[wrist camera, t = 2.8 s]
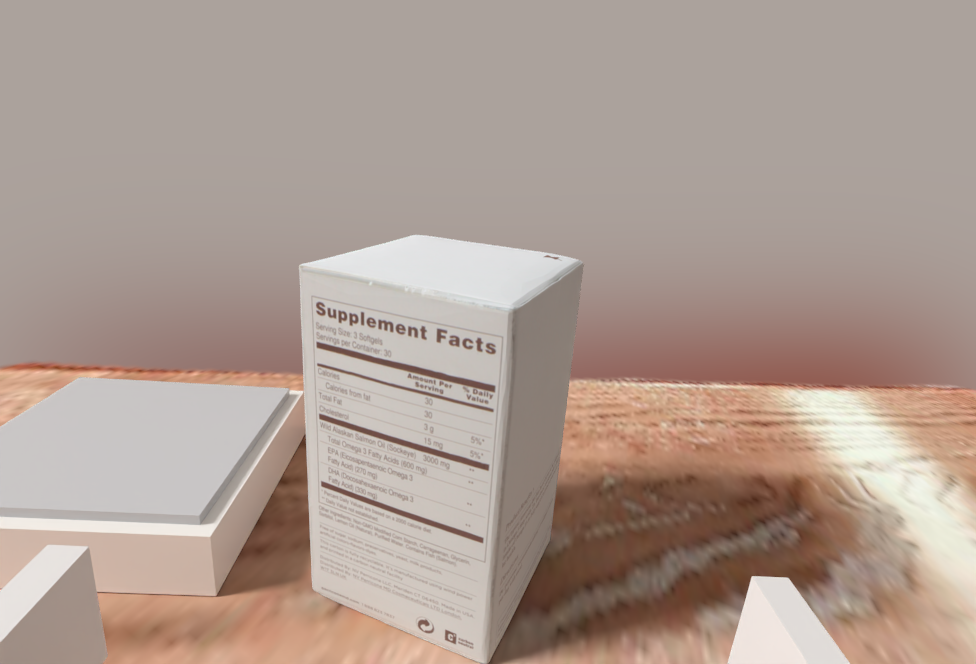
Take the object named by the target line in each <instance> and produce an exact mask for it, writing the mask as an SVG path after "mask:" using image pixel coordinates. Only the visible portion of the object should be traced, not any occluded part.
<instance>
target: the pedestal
mask: <svg viewBox="0 0 976 664" xmlns="http://www.w3.org/2000/svg"><path fill="white" fill-rule="evenodd" d="M304 435H305V405H304V391H291V390H289V388H271V387H252V386H233V385H215V384H196V383H177V382H159V381H140V380H121V379H103V378H84V377H80V378H78V379H76V380H74V381H73V382H71V383H70V384H68V385H66V386H65V387H63V388H62V389H60V390H58V391H57V392H55V393H54V394H52V395H50V396H49V397H47V398H46V399H44V400H42V401H41V402H39V403H38V404H36V405H34V406H33V407H31V408H30V409H28V410H26V411H25V412H23V413H22V414H20V415H18V416H17V417H15V418H14V419H12V420H10V421H9V422H7V423H6V424H4V425H2V426H1V427H0V589H3V588H4V587H5V586H6V585H7V584H8V583H9V582H10V581H11V580H12V579H13V578H14V577H15V576H16V575H17V574H18V573H19V572H20V571H21V570H22V569H23V568H24V567H25V566H26V565H27V564H28V563H29V562H30V561H31V560H32V559H34V558H35V557H36V556H37V555H38V554H39V553H40V552H41V551H42V550H43V549H44V548H45V547H46V546H47V545H65V546H87V547H89V550H90V555H91V561H92V567H93V573H94V579H95V585H96V590H97V592H114V593H142V594H170V595H199V596H217V594H218V592H219V590H220V588H221V586H222V585H223V583H224V581H225V579H226V577H227V575H228V574H229V572H230V570H231V568H232V566H233V565H234V563H235V561H236V559H237V557H238V555H239V554H240V552H241V550H242V548H243V546H244V544H245V543H246V541H247V539H248V537H249V535H250V534H251V532H252V530H253V528H254V526H255V524H256V523H257V521H258V519H259V517H260V515H261V514H262V512H263V510H264V508H265V506H266V504H267V503H268V501H269V499H270V497H271V495H272V493H273V492H274V490H275V488H276V486H277V484H278V483H279V481H280V479H281V477H282V475H283V473H284V472H285V470H286V468H287V466H288V464H289V462H290V461H291V459H292V457H293V455H294V453H295V452H296V450H297V448H298V446H299V444H300V442H301V441H302V439H303V437H304Z"/></svg>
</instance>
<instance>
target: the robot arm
mask: <svg viewBox="0 0 976 664" xmlns="http://www.w3.org/2000/svg"><path fill="white" fill-rule="evenodd" d="M107 657H108V654H107V648H106V643H105V637H104V631H103V625H102V619H101V614H100V608H99V602H98V596H97V590H96V585H95V579H94V573H93V567H92V561H91V555H90V550H89V547H87V546H65V545H47V546H46V547H45V548H44V549H43V550H42V551H41V552H40V553H39V554H38V555H37V556H36V557H35V558H34V559H32V560H31V561H30V562H29V563H28V564H27V565H26V566H25V567H24V568H23V569H22V570H21V571H20V572H19V573H18V574H17V575H16V576H15V577H14V578H13V579H12V580H11V581H10V582H9V583H8V584H7V585H6V586H5V587H4V588H3V589H2V590H0V664H103V662H104V661H105V659H106V658H107ZM728 664H850V663H849V661H848V660H847V659H846V657H845V656H844V654H843V653H842V652H841V650H840V649H839V648H838V646H837V645H836V643H835V642H834V641H833V639H832V638H831V636H830V635H829V634H828V632H827V631H826V629H825V628H824V627H823V625H822V624H821V622H820V621H819V620H818V618H817V617H816V616H815V614H814V613H813V611H812V610H811V609H810V607H809V606H808V604H807V603H806V602H805V600H804V599H803V597H802V596H801V595H800V593H799V592H798V591H797V589H796V588H795V586H794V585H793V584H792V582H791V581H790V579H789V578H785V577H762V576H752V578H751V581H750V585H749V589H748V592H747V596H746V599H745V603H744V606H743V610H742V614H741V617H740V621H739V624H738V628H737V631H736V635H735V639H734V642H733V646H732V649H731V653H730V656H729V660H728Z"/></svg>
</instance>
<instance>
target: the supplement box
mask: <svg viewBox="0 0 976 664" xmlns="http://www.w3.org/2000/svg"><path fill="white" fill-rule="evenodd" d="M583 266H584V265H583V262H582V261H580V260H577V259H574V258H569V257H565V256H560V255H555V254H550V253H543V252H537V251H530V250H524V249H516V248H508V247H502V246H495V245H488V244H480V243H473V242H466V241H459V240H453V239H446V238H439V237H431V236H424V235H412V236H409V237H405V238H402V239H398V240H395V241H391V242H387V243H384V244H380V245H376V246H372V247H368V248H364V249H360V250H356V251H353V252H349V253H345V254H341V255H337V256H334V257H329V258H326V259H322V260H318V261H314V262H309V263H304V264H301V265H300V266H299V272H300V295H301V323H302V344H303V377H304V404H305V425H306V452H307V474H308V502H309V524H310V547H311V573H312V588H313V590H314V591H316V592H318V593H319V594H321V595H322V596H324V597H327V598H329V599H331V600H333V601H335V602H338V603H340V604H342V605H344V606H347V607H349V608H352V609H354V610H356V611H358V612H360V613H363V614H365V615H368V616H370V617H372V618H375V619H377V620H380V621H382V622H384V623H386V624H388V625H391V626H393V627H395V628H398V629H400V630H402V631H405V632H407V633H410V634H412V635H414V636H417V637H419V638H421V639H423V640H425V641H428V642H430V643H433V644H435V645H438V646H440V647H442V648H445V649H447V650H449V651H452V652H455V653H457V654H459V655H462V656H464V657H466V658H469V659H471V660H474V661H476V662H479V663H482V664H488V663H489V662H490V660H491V658H492V656H493V654H494V652H495V650H496V648H497V646H498V644H499V642H500V640H501V638H502V637H503V635H504V633H505V631H506V629H507V627H508V625H509V623H510V621H511V619H512V617H513V615H514V613H515V611H516V608H517V606H518V604H519V602H520V600H521V598H522V596H523V594H524V592H525V590H526V588H527V586H528V584H529V582H530V580H531V578H532V576H533V574H534V572H535V570H536V568H537V566H538V564H539V561H540V559H541V557H542V555H543V553H544V551H545V549H546V547H547V545H548V543H549V541H550V539H551V528H552V520H553V512H554V504H555V496H556V488H557V479H558V471H559V462H560V454H561V446H562V438H563V430H564V422H565V414H566V406H567V397H568V389H569V380H570V373H571V365H572V356H573V348H574V339H575V332H576V324H577V315H578V307H579V299H580V291H581V282H582V274H583Z"/></svg>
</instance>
